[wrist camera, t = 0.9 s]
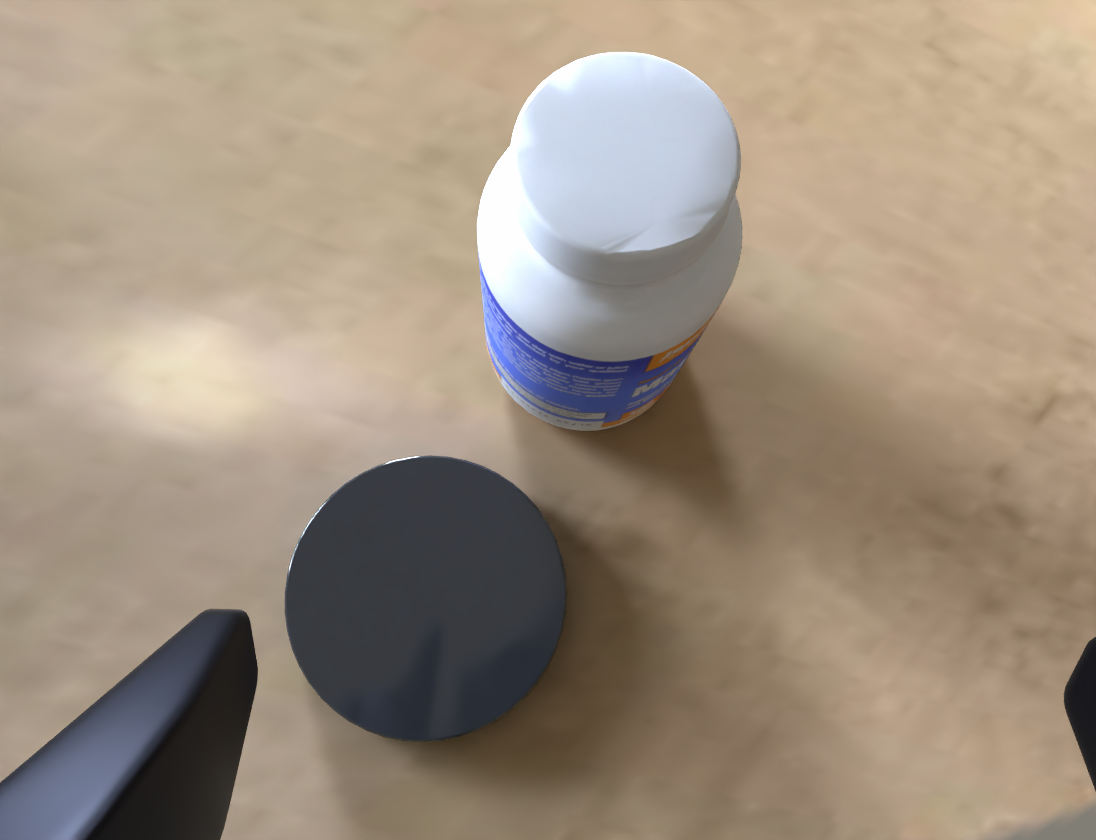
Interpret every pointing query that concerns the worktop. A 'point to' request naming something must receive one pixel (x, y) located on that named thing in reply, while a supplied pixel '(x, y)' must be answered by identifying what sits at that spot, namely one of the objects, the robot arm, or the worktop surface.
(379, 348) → the worktop surface
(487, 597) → the coaster
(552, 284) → the pill bottle
